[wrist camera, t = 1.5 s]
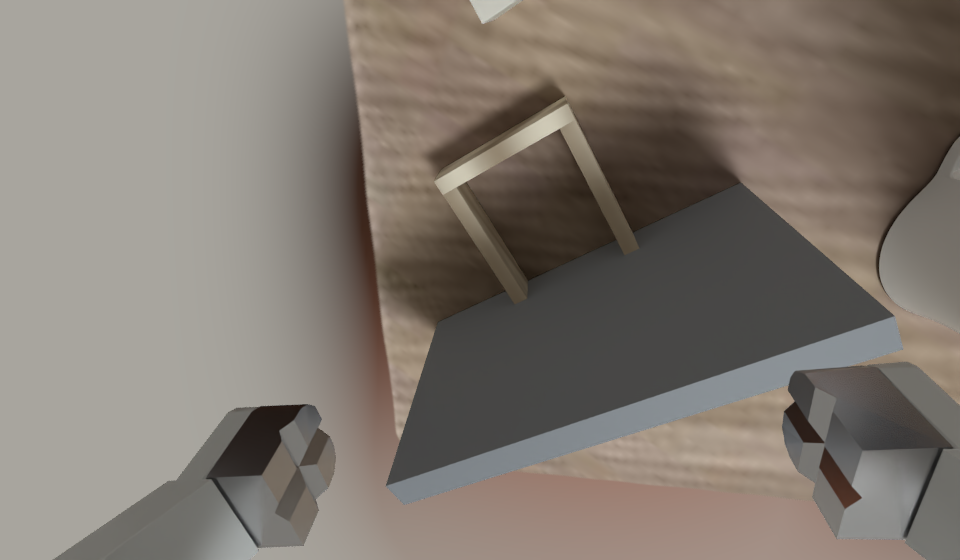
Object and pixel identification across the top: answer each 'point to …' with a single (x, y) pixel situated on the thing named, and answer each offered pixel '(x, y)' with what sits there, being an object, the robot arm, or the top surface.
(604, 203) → the frame
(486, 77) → the top surface
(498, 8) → the cream block with tab
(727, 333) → the wall board
